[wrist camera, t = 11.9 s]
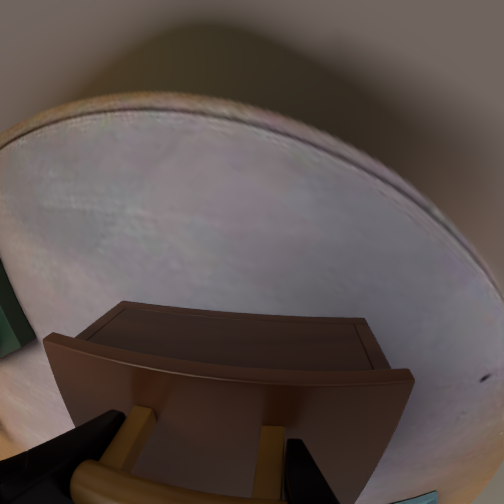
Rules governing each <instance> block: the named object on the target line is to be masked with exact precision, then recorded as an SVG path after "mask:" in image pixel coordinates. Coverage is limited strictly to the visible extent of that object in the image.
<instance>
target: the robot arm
mask: <svg viewBox="0 0 504 504" xmlns="http://www.w3.org/2000/svg"><path fill="white" fill-rule="evenodd" d="M125 419H126V415H125V414H124V412H122V411H118V410H115V409H111V410H109V411H107V412H105V413H103V414H101V415H99V416H98V417H96V418H94V419H92V420H90V421H88V422H86V423H84V424H82V425H80V426H78V427H76V428H74V429H72V430H70V431H68V432H66V433H64V434H62V435H60V436H58V437H55V438H53V439H51V440H49V441H47V442H45V443H43V444H40V445H38V446H36V447H34V448H32V449H29V450H28V451H25V452H22V453H20V454H18V455H15V456H13V457H10V458H7V459H5V460H1V461H0V504H75V503H74V502H73V500H72V498H71V494H70V482H71V478H72V475H73V473H74V471H75V469H76V468H77V466H78V465H79V464H80V463H81V462H83V461H85V460H95V461H99V460H100V458H101V457H102V455H103V453H104V452H105V450H106V449H107V447H108V446H109V444H110V442H111V441H112V439H113V438H114V436H115V435H116V433H117V432H118V430H119V428H120V427H121V425H122V424H123V422H124V421H125ZM282 500H286V501H288V504H340V502H339V500H338V499H337V497H336V496H335V494H334V492H333V491H332V489H331V487H330V486H329V484H328V483H327V481H326V479H325V478H324V476H323V474H322V473H321V471H320V469H319V467H318V466H317V464H316V462H315V461H314V459H313V457H312V456H311V454H310V452H309V450H308V449H307V447H306V445H305V443H304V442H303V440H302V439H295V438H289V439H287V441H286V447H285V453H284V469H283V488H282Z"/></svg>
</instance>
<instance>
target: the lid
mask: <svg viewBox="0 0 504 504" xmlns="http://www.w3.org/2000/svg"><path fill="white" fill-rule="evenodd" d="M43 344H44V348H45V351H46V354H47V357H48V360H49V363H50V366H51V369H52V372H53V375H54V377H55V380H56V383H57V386H58V388H59V391H60V393H61V396H62V398H63V401H64V403H65V405H66V408H67V410H68V412H69V414H70V417H71V419H72V421H73V423H74V425H75V427H78V426H80V425H82V424H84V423H86V422H88V421H90V420H92V419H94V418H96V417H98V416H99V415H101V414H103V413H105V412H107V411H109V410H111V409H115V410H118V411H122V412H124V414H125V415H126V419H125V421H124V422H123V424H122V425H121V427H120V428H119V430H118V432H117V433H116V435H115V436H114V438H113V439H112V441H111V442H110V444H109V446H108V447H107V449H106V450H105V452H104V453H103V455H102V457H101V458H100V460H99V461H95V460H85V461H83V462H81V463H80V464H79V465H78V466H77V468H76V469H75V471H74V473H73V475H72V478H71V482H70V494H71V498H72V500H73V502H74V503H75V504H288V501H286V500H282V488H283V469H284V453H285V447H286V441H287V439H289V438H295V439H302V440H303V442H304V443H305V445H306V447H307V449H308V450H309V452H310V454H311V456H312V457H313V459H314V461H315V462H316V464H317V466H318V467H319V469H320V471H321V473H322V474H323V476H324V478H325V479H326V481H327V483H328V484H329V486H330V487H331V489H332V491H333V492H334V494H335V496H336V497H337V499H338V500H339V502H340V504H354V503H355V502H356V500H357V498H358V497H359V495H360V494H361V492H362V490H363V489H364V487H365V486H366V484H367V482H368V481H369V479H370V477H371V475H372V474H373V472H374V470H375V468H376V467H377V465H378V463H379V461H380V459H381V457H382V455H383V453H384V452H385V450H386V448H387V446H388V444H389V442H390V440H391V437H392V435H393V433H394V431H395V429H396V427H397V425H398V422H399V420H400V418H401V416H402V413H403V411H404V409H405V406H406V404H407V401H408V399H409V396H410V394H411V391H412V389H413V386H414V383H415V379H414V377H413V375H412V373H411V372H410V370H409V369H408V368H403V369H387V370H363V371H304V370H279V369H263V368H250V367H238V366H228V365H218V364H210V363H202V362H194V361H187V360H180V359H173V358H167V357H161V356H155V355H149V354H144V353H139V352H133V351H128V350H123V349H119V348H114V347H109V346H105V345H101V344H96V343H92V342H88V341H84V340H80V339H76V338H73V337H69V336H65V335H62V334H58V333H55V332H52V333H51V334H49V335H48V336H46V337H45V338H44V339H43Z"/></svg>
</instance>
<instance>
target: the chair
mask: <svg viewBox="0 0 504 504" xmlns="http://www.w3.org/2000/svg"><path fill="white" fill-rule="evenodd" d="M394 504H438V494H437V491H435V492H432V493H429V494H426V495H423V496H420V497H417V498H413V499H410V500H406V501H402V502H398V503H394Z"/></svg>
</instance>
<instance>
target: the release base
mask: <svg viewBox="0 0 504 504" xmlns="http://www.w3.org/2000/svg"><path fill="white" fill-rule="evenodd" d="M34 338H35V335H34V333H33V331H32V329H31V327H30V325H29V324H28V322H27V320H26V318H25V316H24V314H23V312H22V310H21V308H20V306H19V304H18V301H17V299H16V297H15V295H14V293H13V291H12V288H11V286H10V284H9V281H8V279H7V277H6V274H5V272H4V269H3V267H2V264H1V261H0V358H1V357H3V356H5V355H7V354H9V353H11V352H13V351H15V350H17V349H19V348H21V347H23V346H24V345H26V344H27V343H29V342H30V341H32V340H33V339H34Z"/></svg>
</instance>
